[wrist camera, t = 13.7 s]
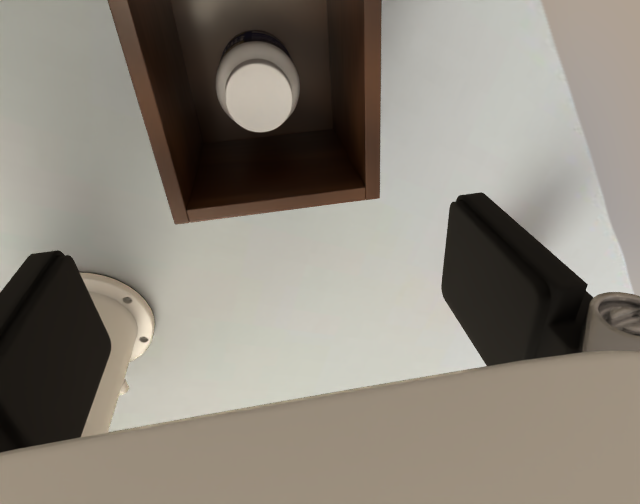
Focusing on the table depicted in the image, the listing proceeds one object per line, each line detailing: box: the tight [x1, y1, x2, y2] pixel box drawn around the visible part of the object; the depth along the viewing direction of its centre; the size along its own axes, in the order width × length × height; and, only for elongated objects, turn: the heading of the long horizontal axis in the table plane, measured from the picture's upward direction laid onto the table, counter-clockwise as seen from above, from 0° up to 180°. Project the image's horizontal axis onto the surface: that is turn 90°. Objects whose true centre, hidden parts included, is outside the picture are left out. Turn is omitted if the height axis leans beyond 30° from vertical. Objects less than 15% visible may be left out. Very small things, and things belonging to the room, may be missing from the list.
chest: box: [108, 0, 381, 224], centre depth 27 cm, size 17×13×13 cm
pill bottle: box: [216, 30, 300, 132], centre depth 29 cm, size 5×5×10 cm
